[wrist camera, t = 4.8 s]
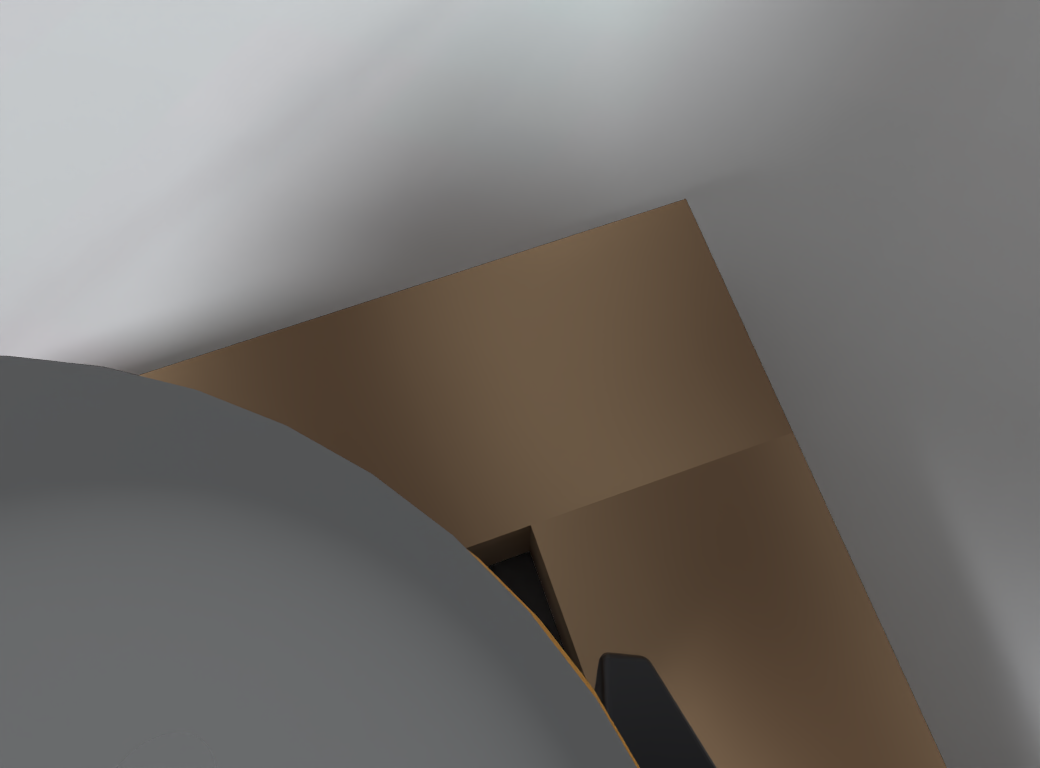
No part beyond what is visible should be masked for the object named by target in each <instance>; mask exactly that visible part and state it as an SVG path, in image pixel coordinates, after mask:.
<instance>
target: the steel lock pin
mask: <svg viewBox="0 0 1040 768" xmlns="http://www.w3.org/2000/svg"><path fill="white" fill-rule="evenodd" d="M0 768H640V767H639V765H638V764H637V762H636V760H635V758H634V757H633V755H632V753H631V752H630V750H629V748H628V747H627V745H626V743H625V741H624V740H623V738H622V736H621V735H620V733H619V731H618V730H617V728H616V726H615V724H614V723H613V721H612V719H611V718H610V716H609V714H608V713H607V711H606V709H605V707H604V706H603V704H602V702H601V701H600V699H599V697H598V696H597V694H596V692H595V690H594V689H593V687H592V686H591V685H590V683H589V682H588V681H587V680H586V678H585V677H584V676H583V674H582V673H581V672H580V671H579V669H578V668H577V667H576V665H575V664H574V663H573V661H572V660H571V659H570V658H569V656H568V655H567V654H566V652H565V651H564V650H563V649H562V647H561V646H560V645H559V643H558V642H557V641H556V639H555V638H554V637H553V636H552V634H551V633H550V632H549V630H548V629H547V628H546V627H545V625H544V624H543V623H542V621H541V620H540V619H539V618H538V617H537V616H536V615H535V614H534V613H533V612H532V611H531V610H530V609H529V608H528V607H527V606H526V605H525V604H524V603H523V602H522V601H521V600H520V599H519V598H518V597H517V596H516V595H515V594H514V593H513V592H512V591H511V590H510V589H509V588H508V587H507V586H506V585H505V584H504V583H503V582H502V581H501V580H500V579H499V578H498V577H497V576H496V575H495V574H494V573H493V572H492V571H491V570H490V569H489V568H488V567H487V566H486V565H485V564H484V563H483V562H482V561H481V560H480V559H479V558H478V557H477V556H475V555H474V554H473V553H471V552H470V551H469V550H468V549H466V548H465V547H464V546H463V545H462V544H461V543H460V542H459V541H458V540H457V539H456V538H455V537H454V536H453V535H452V534H450V533H449V532H448V531H446V530H445V529H444V528H443V527H441V526H440V525H439V524H437V523H436V522H435V521H433V520H432V519H431V518H429V517H428V516H427V515H425V514H424V513H423V512H421V511H420V510H419V509H418V508H416V507H415V506H414V505H412V504H411V503H410V502H408V501H407V500H406V499H404V498H403V497H402V496H400V495H399V494H398V493H396V492H395V491H394V490H393V489H391V488H390V487H389V486H387V485H386V484H385V483H383V482H382V481H381V480H379V479H378V478H377V477H375V476H374V475H373V474H371V473H369V472H368V471H366V470H364V469H362V468H361V467H359V466H357V465H355V464H354V463H352V462H350V461H348V460H346V459H345V458H343V457H341V456H339V455H338V454H336V453H334V452H332V451H331V450H329V449H327V448H325V447H323V446H322V445H320V444H318V443H316V442H315V441H313V440H311V439H309V438H308V437H306V436H304V435H302V434H300V433H299V432H297V431H295V430H293V429H292V428H290V427H288V426H286V425H284V424H281V423H279V422H276V421H274V420H271V419H269V418H266V417H264V416H261V415H259V414H256V413H253V412H251V411H248V410H246V409H243V408H241V407H238V406H236V405H233V404H231V403H228V402H226V401H223V400H221V399H218V398H216V397H213V396H211V395H208V394H206V393H203V392H201V391H198V390H195V389H191V388H187V387H183V386H179V385H175V384H171V383H167V382H163V381H159V380H155V379H151V378H147V377H143V376H139V375H135V374H131V373H127V372H123V371H119V370H115V369H111V368H106V367H101V366H93V365H84V364H75V363H66V362H57V361H49V360H40V359H31V358H22V357H13V356H0Z"/></svg>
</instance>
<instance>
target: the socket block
mask: <svg viewBox="0 0 1040 768" xmlns="http://www.w3.org/2000/svg"><path fill="white" fill-rule="evenodd" d="M139 376H143V377H147V378H151V379H155V380H159V381H163V382H167V383H171V384H175V385H179V386H183V387H187V388H191V389H195V390H198V391H201V392H203V393H206V394H208V395H211V396H213V397H216V398H218V399H221V400H223V401H226V402H228V403H231V404H233V405H236V406H238V407H241V408H243V409H246V410H248V411H251V412H253V413H256V414H259V415H261V416H264V417H266V418H269V419H271V420H274V421H276V422H279V423H281V424H284V425H286V426H288V427H290V428H292V429H293V430H295V431H297V432H299V433H300V434H302V435H304V436H306V437H308V438H309V439H311V440H313V441H315V442H316V443H318V444H320V445H322V446H323V447H325V448H327V449H329V450H331V451H332V452H334V453H336V454H338V455H339V456H341V457H343V458H345V459H346V460H348V461H350V462H352V463H354V464H355V465H357V466H359V467H361V468H362V469H364V470H366V471H368V472H369V473H371V474H373V475H374V476H375V477H377V478H378V479H379V480H381V481H382V482H383V483H385V484H386V485H387V486H389V487H390V488H391V489H393V490H394V491H395V492H396V493H398V494H399V495H400V496H402V497H403V498H404V499H406V500H407V501H408V502H410V503H411V504H412V505H414V506H415V507H416V508H418V509H419V510H420V511H421V512H423V513H424V514H425V515H427V516H428V517H429V518H431V519H432V520H433V521H435V522H436V523H437V524H439V525H440V526H441V527H443V528H444V529H445V530H446V531H448V532H449V533H450V534H452V535H453V536H454V537H455V538H456V539H457V540H458V541H459V542H460V543H461V544H462V545H463V546H464V547H465V548H466V549H468V550H469V551H470V552H471V553H473V554H474V555H475V556H477V557H478V558H479V559H480V560H481V561H482V562H483V563H484V564H485V565H486V566H490V565H492V564H495V563H498V562H501V561H504V560H506V559H509V558H512V557H515V556H518V555H520V554H523V553H526V552H529V551H530V554H531V557H532V560H533V563H534V565H535V568H536V571H537V574H538V577H539V579H540V582H541V585H542V588H543V591H544V593H545V596H546V599H547V602H548V605H549V608H550V610H551V613H552V616H553V619H554V622H555V624H556V627H557V630H558V633H559V636H560V639H561V641H562V644H563V647H564V650H565V652H566V654H567V655H568V656H569V658H570V659H571V660H572V661H573V663H574V664H575V665H576V667H577V668H578V669H579V671H580V672H581V673H582V674H583V676H584V677H585V678H586V680H587V681H588V682H589V683H590V685H591V686H592V687H593V689H594V690H595V683H596V676H597V669H598V663H599V659H600V657H601V656H602V654H604V653H606V652H612V653H622V654H632V655H641V656H644V657H646V658H647V659H648V660H650V662H651V663H652V665H653V666H654V668H655V670H656V671H657V673H658V674H659V676H660V678H661V679H662V681H663V682H664V684H665V686H666V687H667V689H668V690H669V692H670V694H671V695H672V697H673V698H674V700H675V702H676V703H677V705H678V706H679V708H680V710H681V711H682V713H683V714H684V716H685V718H686V719H687V721H688V722H689V724H690V726H691V727H692V729H693V730H694V732H695V734H696V735H697V737H698V739H699V740H700V742H701V743H702V745H703V747H704V748H705V750H706V751H707V753H708V755H709V756H710V758H711V759H712V761H713V763H714V764H715V766H716V767H717V768H947V767H946V765H945V763H944V761H943V759H942V756H941V754H940V752H939V750H938V748H937V746H936V743H935V741H934V739H933V737H932V735H931V732H930V730H929V728H928V726H927V724H926V722H925V719H924V717H923V715H922V713H921V711H920V708H919V706H918V704H917V702H916V700H915V698H914V695H913V693H912V691H911V689H910V687H909V684H908V682H907V680H906V678H905V676H904V674H903V671H902V669H901V667H900V665H899V663H898V660H897V658H896V656H895V654H894V652H893V650H892V647H891V645H890V643H889V641H888V639H887V636H886V634H885V632H884V630H883V628H882V626H881V623H880V621H879V619H878V617H877V615H876V612H875V610H874V608H873V606H872V604H871V602H870V599H869V597H868V595H867V593H866V591H865V588H864V586H863V584H862V582H861V580H860V578H859V575H858V573H857V571H856V569H855V567H854V564H853V562H852V560H851V558H850V556H849V554H848V551H847V549H846V547H845V545H844V543H843V541H842V538H841V536H840V534H839V532H838V530H837V527H836V525H835V523H834V521H833V519H832V517H831V514H830V512H829V510H828V508H827V506H826V503H825V501H824V499H823V497H822V495H821V493H820V490H819V488H818V486H817V484H816V482H815V479H814V477H813V475H812V473H811V471H810V469H809V466H808V464H807V462H806V460H805V458H804V455H803V453H802V451H801V449H800V447H799V445H798V442H797V440H796V438H795V436H794V434H793V431H792V429H791V427H790V425H789V423H788V421H787V418H786V416H785V414H784V412H783V410H782V407H781V405H780V403H779V401H778V399H777V397H776V394H775V392H774V390H773V388H772V386H771V383H770V381H769V379H768V377H767V375H766V373H765V370H764V368H763V366H762V364H761V362H760V359H759V357H758V355H757V353H756V351H755V349H754V346H753V344H752V342H751V340H750V338H749V336H748V333H747V331H746V329H745V327H744V325H743V322H742V320H741V318H740V316H739V314H738V312H737V309H736V307H735V305H734V303H733V301H732V298H731V296H730V294H729V292H728V290H727V288H726V285H725V283H724V281H723V279H722V277H721V274H720V272H719V270H718V268H717V266H716V264H715V261H714V259H713V257H712V255H711V253H710V250H709V248H708V246H707V244H706V242H705V240H704V237H703V235H702V233H701V231H700V229H699V226H698V224H697V222H696V220H695V218H694V216H693V213H692V211H691V209H690V207H689V205H688V202H687V200H686V199H684V200H681V201H678V202H674V203H671V204H668V205H665V206H662V207H659V208H656V209H653V210H650V211H647V212H643V213H640V214H637V215H634V216H631V217H628V218H625V219H622V220H619V221H616V222H612V223H609V224H606V225H603V226H600V227H597V228H594V229H591V230H588V231H584V232H581V233H578V234H575V235H572V236H569V237H566V238H563V239H560V240H557V241H553V242H550V243H547V244H544V245H541V246H538V247H535V248H532V249H529V250H526V251H522V252H519V253H516V254H513V255H510V256H507V257H504V258H501V259H498V260H495V261H491V262H488V263H485V264H482V265H479V266H476V267H473V268H470V269H467V270H464V271H460V272H457V273H454V274H451V275H448V276H445V277H442V278H439V279H436V280H433V281H429V282H426V283H423V284H420V285H417V286H414V287H411V288H408V289H405V290H401V291H398V292H395V293H392V294H389V295H386V296H383V297H380V298H377V299H374V300H370V301H367V302H364V303H361V304H358V305H355V306H352V307H349V308H346V309H343V310H339V311H336V312H333V313H330V314H327V315H324V316H321V317H318V318H315V319H312V320H308V321H305V322H302V323H299V324H296V325H293V326H290V327H287V328H284V329H281V330H277V331H274V332H271V333H268V334H265V335H262V336H259V337H256V338H253V339H250V340H246V341H243V342H240V343H237V344H234V345H231V346H228V347H225V348H222V349H218V350H215V351H212V352H209V353H206V354H203V355H200V356H197V357H194V358H191V359H187V360H184V361H181V362H178V363H175V364H172V365H169V366H166V367H163V368H160V369H156V370H153V371H150V372H147V373H144V374H141V375H139Z"/></svg>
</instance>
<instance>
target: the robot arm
mask: <svg viewBox="0 0 1040 768" xmlns="http://www.w3.org/2000/svg"><path fill="white" fill-rule="evenodd" d="M595 692H596V694H597V696H598V697H599V699H600V701H601V702H602V704H603V706H604V707H605V709H606V711H607V713H608V714H609V716H610V718H611V719H612V721H613V723H614V724H615V726H616V728H617V730H618V731H619V733H620V735H621V736H622V738H623V740H624V741H625V743H626V745H627V747H628V748H629V750H630V752H631V753H632V755H633V757H634V758H635V760H636V762H637V764H638V765H639V767H640V768H717V767H716V766H715V764H714V763H713V761H712V759H711V758H710V756H709V755H708V753H707V751H706V750H705V748H704V747H703V745H702V743H701V742H700V740H699V739H698V737H697V735H696V734H695V732H694V730H693V729H692V727H691V726H690V724H689V722H688V721H687V719H686V718H685V716H684V714H683V713H682V711H681V710H680V708H679V706H678V705H677V703H676V702H675V700H674V698H673V697H672V695H671V694H670V692H669V690H668V689H667V687H666V686H665V684H664V682H663V681H662V679H661V678H660V676H659V674H658V673H657V671H656V670H655V668H654V666H653V665H652V663H651V662H650V660H648V659H647V658H646V657H644V656H641V655H632V654H622V653H612V652H606V653H604V654H602V656H601V657H600V659H599V663H598V669H597V676H596V683H595Z"/></svg>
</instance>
